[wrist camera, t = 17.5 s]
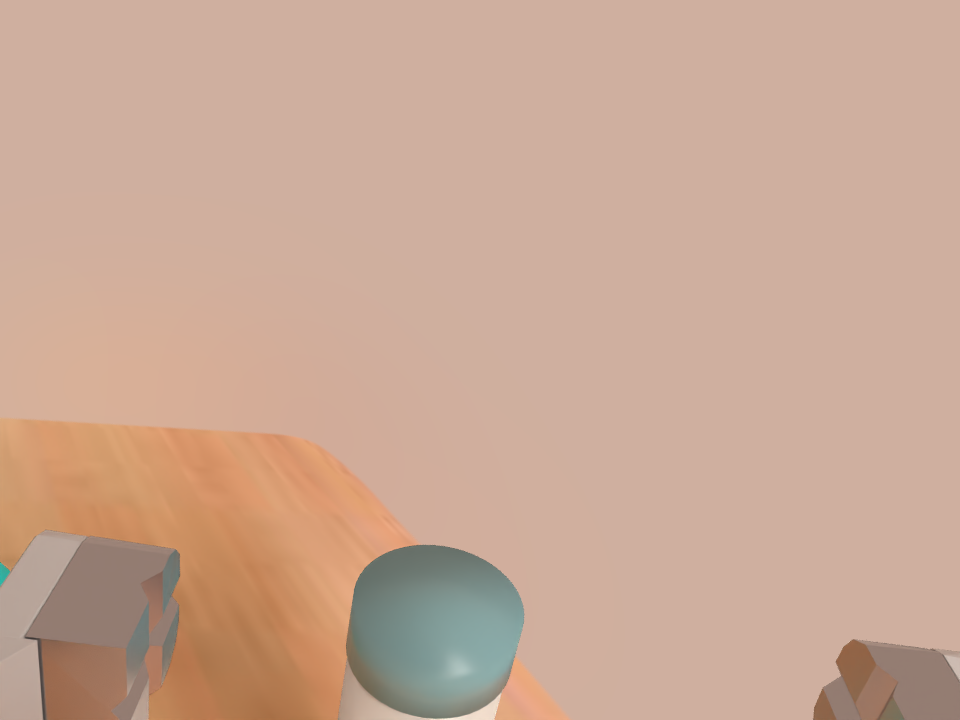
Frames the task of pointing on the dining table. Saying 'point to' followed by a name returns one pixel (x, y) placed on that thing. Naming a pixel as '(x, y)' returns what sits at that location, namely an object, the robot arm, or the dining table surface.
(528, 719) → the dining table surface
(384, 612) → the cylinder
